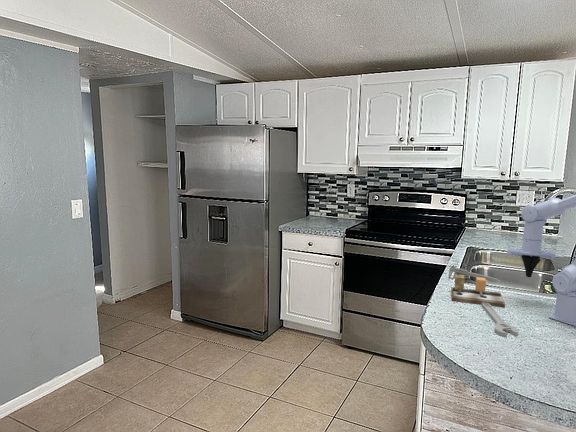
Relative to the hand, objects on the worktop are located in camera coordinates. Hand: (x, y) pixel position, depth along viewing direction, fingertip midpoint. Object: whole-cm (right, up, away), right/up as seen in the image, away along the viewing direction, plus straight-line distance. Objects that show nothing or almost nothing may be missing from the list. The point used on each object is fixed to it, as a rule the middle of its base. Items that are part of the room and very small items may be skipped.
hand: (528, 276), depth 144 cm
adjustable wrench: (-18, -12, -15) cm, 27 cm away
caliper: (-7, -6, +26) cm, 27 cm away
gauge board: (-16, -9, +4) cm, 19 cm away
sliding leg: (-15, -7, +4) cm, 17 cm away
